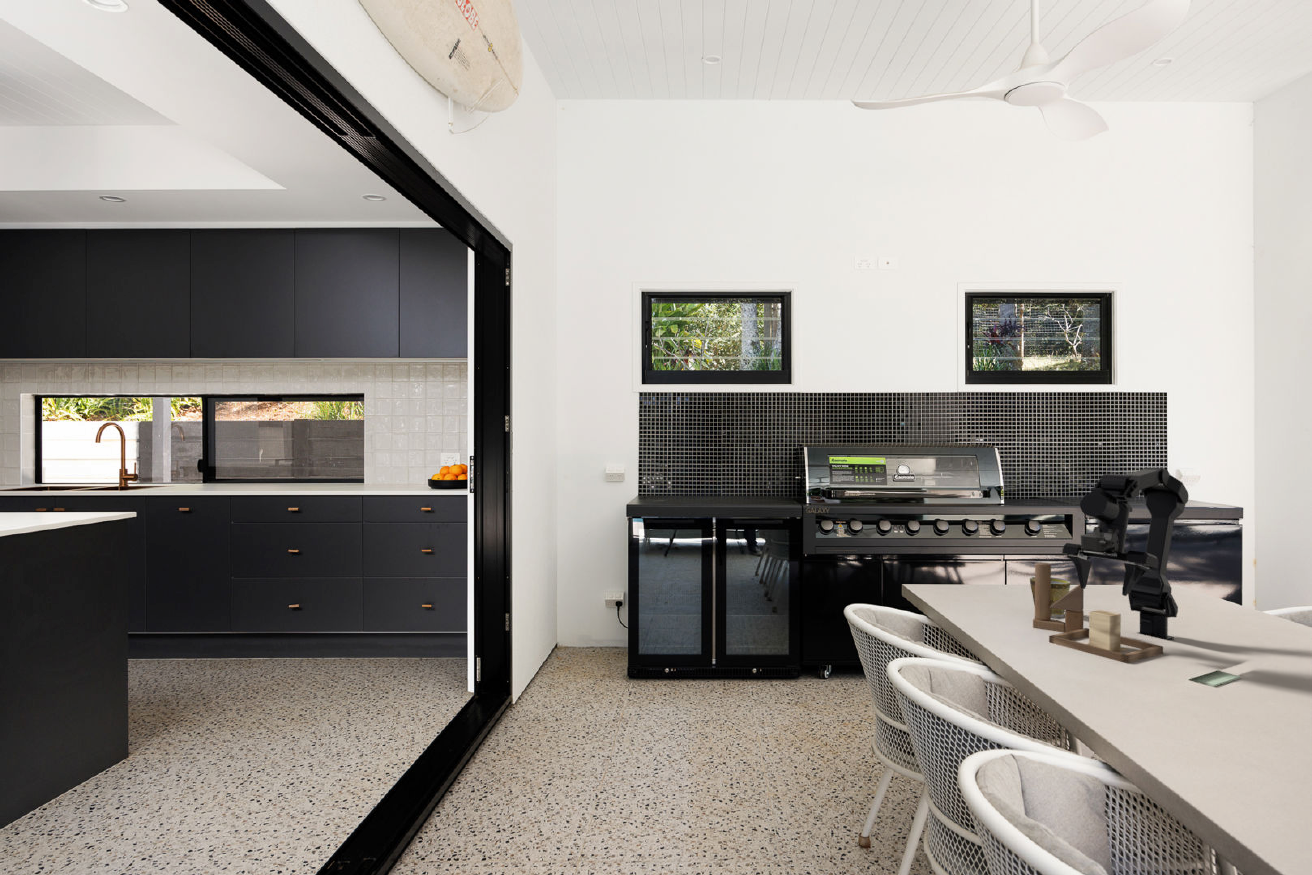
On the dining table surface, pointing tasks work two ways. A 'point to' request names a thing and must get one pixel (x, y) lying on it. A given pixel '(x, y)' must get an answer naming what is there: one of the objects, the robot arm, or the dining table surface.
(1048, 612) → the wooden block structure
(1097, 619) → the beech block
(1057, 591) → the yellow green glass cup
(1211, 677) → the green mat
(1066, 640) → the wooden rectangular frame
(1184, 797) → the dining table surface
